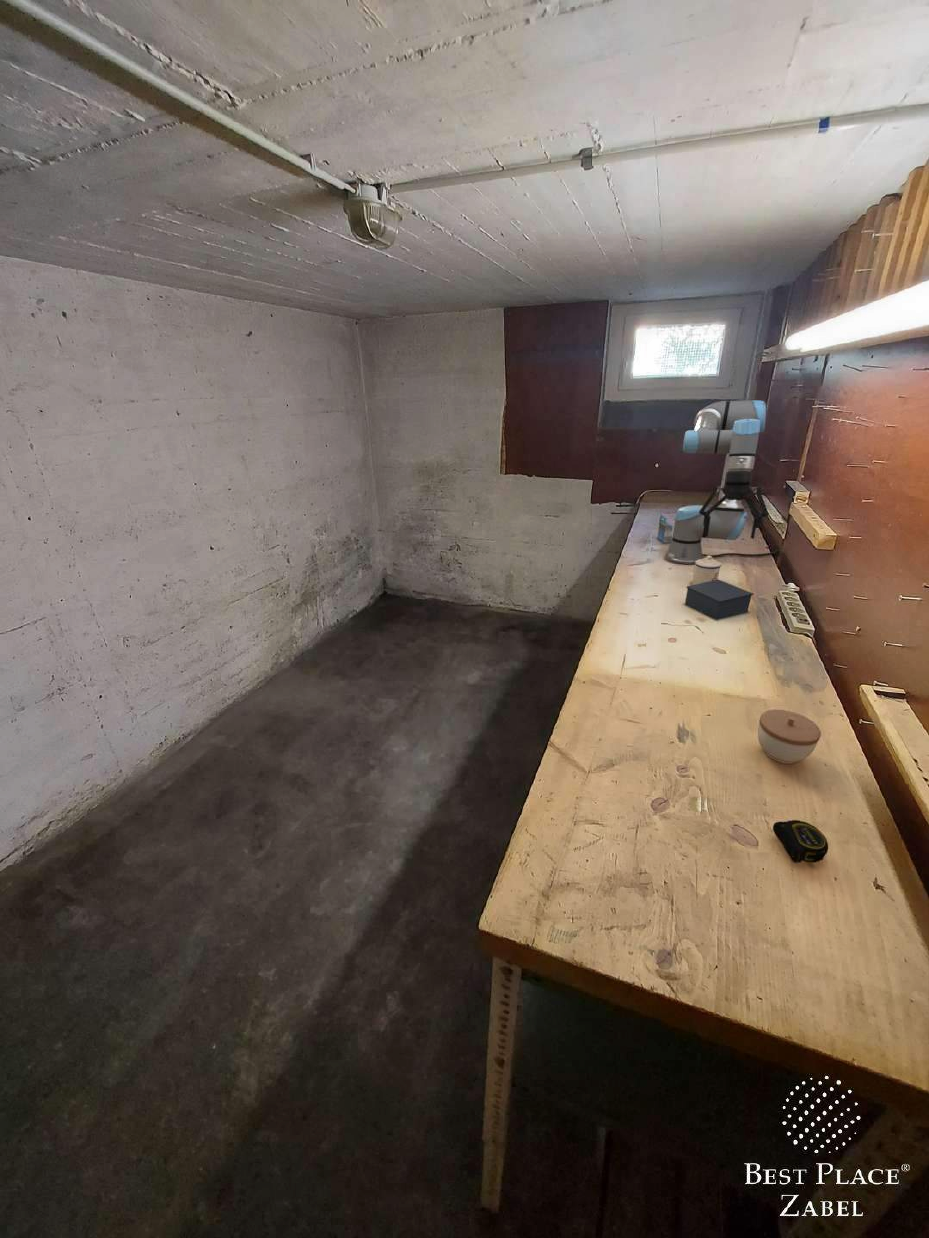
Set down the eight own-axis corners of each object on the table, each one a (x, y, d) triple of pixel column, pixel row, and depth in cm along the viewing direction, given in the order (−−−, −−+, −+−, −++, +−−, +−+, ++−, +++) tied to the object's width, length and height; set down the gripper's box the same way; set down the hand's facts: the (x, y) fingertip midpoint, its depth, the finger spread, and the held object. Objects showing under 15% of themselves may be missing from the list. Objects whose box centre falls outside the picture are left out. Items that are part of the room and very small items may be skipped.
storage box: (714, 597, 177) (718, 579, 174) (749, 612, 165) (753, 593, 162) (683, 604, 172) (686, 586, 169) (716, 620, 160) (720, 601, 157)
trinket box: (741, 739, 108) (750, 705, 104) (787, 735, 108) (798, 700, 104) (773, 773, 98) (784, 737, 94) (823, 768, 99) (836, 732, 95)
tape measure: (768, 832, 86) (773, 816, 84) (809, 833, 85) (815, 818, 83) (788, 866, 80) (794, 850, 78) (832, 868, 79) (839, 852, 77)
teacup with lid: (715, 590, 182) (721, 561, 177) (689, 586, 187) (694, 558, 181) (718, 580, 191) (724, 552, 186) (694, 576, 196) (698, 549, 191)
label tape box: (671, 542, 237) (674, 518, 231) (662, 543, 237) (666, 518, 232) (664, 537, 245) (668, 513, 239) (656, 538, 245) (659, 514, 240)
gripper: (696, 470, 158) (687, 535, 164) (786, 470, 147) (773, 540, 153) (697, 471, 164) (688, 534, 170) (783, 471, 154) (771, 538, 159)
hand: (728, 537), depth 161 cm, fingers open, 13 cm apart
